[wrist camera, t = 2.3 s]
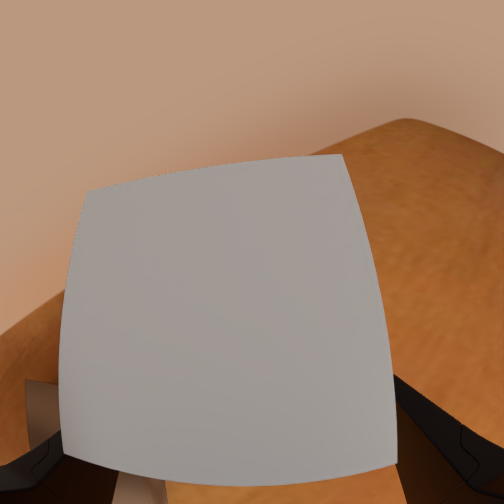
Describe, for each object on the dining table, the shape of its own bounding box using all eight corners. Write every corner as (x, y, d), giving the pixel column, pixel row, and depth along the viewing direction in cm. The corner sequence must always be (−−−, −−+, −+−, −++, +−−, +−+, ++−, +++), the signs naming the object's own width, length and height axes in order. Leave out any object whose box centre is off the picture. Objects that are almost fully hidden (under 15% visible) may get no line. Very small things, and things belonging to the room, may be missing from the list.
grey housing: (306, 396, 16) (396, 463, 3) (228, 401, 16) (63, 453, 3) (299, 321, 18) (341, 154, 5) (224, 328, 18) (86, 191, 5)
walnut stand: (172, 527, 12) (157, 543, 9) (61, 492, 13) (40, 498, 10) (157, 399, 17) (136, 401, 14) (49, 382, 17) (25, 379, 15)
